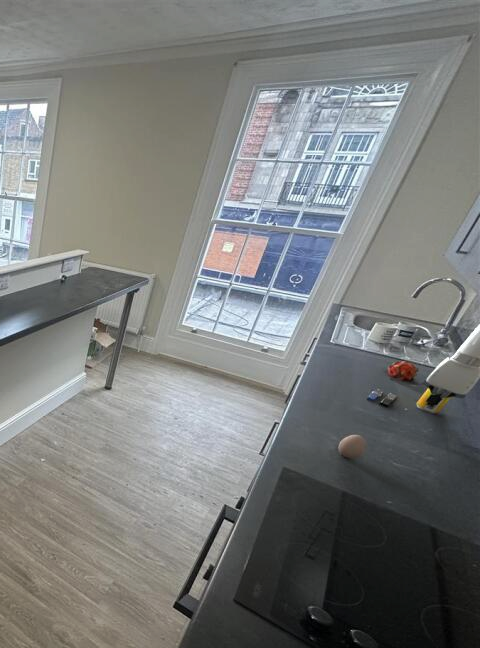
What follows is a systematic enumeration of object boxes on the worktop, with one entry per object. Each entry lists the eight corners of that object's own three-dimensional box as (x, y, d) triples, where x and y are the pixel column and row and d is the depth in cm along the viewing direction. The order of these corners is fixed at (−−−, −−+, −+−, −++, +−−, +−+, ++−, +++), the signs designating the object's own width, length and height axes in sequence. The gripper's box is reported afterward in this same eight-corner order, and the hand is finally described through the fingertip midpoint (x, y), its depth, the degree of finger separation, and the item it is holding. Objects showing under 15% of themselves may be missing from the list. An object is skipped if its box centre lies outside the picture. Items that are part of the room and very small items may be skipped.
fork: (374, 402, 147) (375, 399, 146) (365, 398, 148) (366, 396, 148) (384, 392, 154) (385, 390, 154) (375, 389, 156) (376, 387, 156)
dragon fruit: (399, 379, 170) (391, 390, 164) (385, 363, 172) (376, 372, 166) (425, 371, 163) (418, 382, 157) (410, 354, 164) (402, 364, 159)
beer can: (434, 408, 146) (464, 373, 139) (439, 415, 142) (470, 379, 134) (413, 402, 149) (441, 367, 142) (417, 409, 145) (446, 373, 137)
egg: (357, 457, 115) (373, 437, 111) (355, 465, 112) (371, 444, 108) (335, 447, 118) (349, 428, 115) (332, 455, 115) (346, 434, 111)
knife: (386, 407, 144) (388, 405, 143) (379, 404, 145) (380, 402, 145) (397, 396, 152) (398, 394, 152) (389, 393, 154) (391, 391, 153)
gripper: (502, 367, 129) (460, 413, 139) (440, 348, 139) (404, 392, 148) (501, 372, 125) (457, 419, 135) (436, 352, 135) (400, 397, 144)
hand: (429, 404), depth 141 cm, fingers closed
